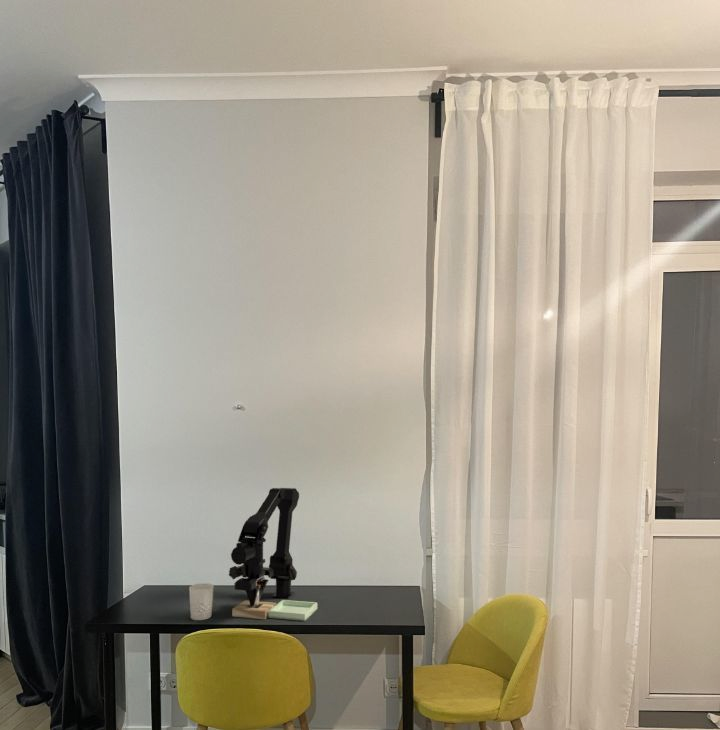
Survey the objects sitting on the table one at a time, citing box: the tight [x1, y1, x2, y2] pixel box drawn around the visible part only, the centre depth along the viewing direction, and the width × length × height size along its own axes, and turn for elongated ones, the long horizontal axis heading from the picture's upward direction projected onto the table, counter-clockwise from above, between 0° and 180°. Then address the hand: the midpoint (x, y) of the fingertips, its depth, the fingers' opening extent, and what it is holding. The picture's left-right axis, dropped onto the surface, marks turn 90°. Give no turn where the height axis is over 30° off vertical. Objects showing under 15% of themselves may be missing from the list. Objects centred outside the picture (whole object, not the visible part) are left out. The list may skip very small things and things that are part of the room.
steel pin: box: [250, 584, 261, 608], centre depth 200 cm, size 4×4×9 cm
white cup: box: [188, 582, 214, 621], centre depth 197 cm, size 8×8×10 cm
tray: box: [267, 599, 318, 622], centre depth 199 cm, size 12×13×2 cm
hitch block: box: [231, 599, 277, 620], centre depth 200 cm, size 9×12×2 cm
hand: (254, 604), depth 200 cm, fingers closed on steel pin, 3 cm apart
